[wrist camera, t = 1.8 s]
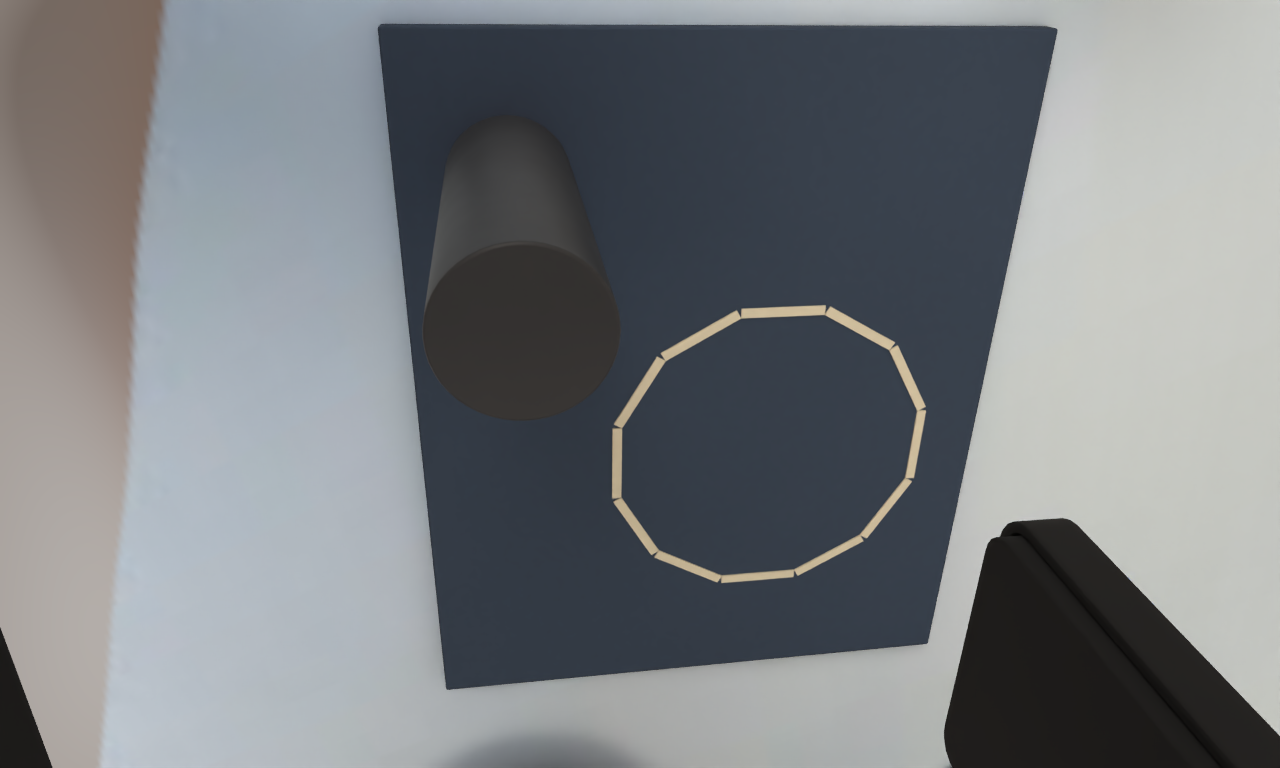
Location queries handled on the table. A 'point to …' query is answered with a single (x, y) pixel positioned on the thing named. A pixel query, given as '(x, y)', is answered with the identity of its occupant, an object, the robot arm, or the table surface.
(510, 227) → the cylinder
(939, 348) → the desk mat
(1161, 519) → the table surface
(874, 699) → the table surface
